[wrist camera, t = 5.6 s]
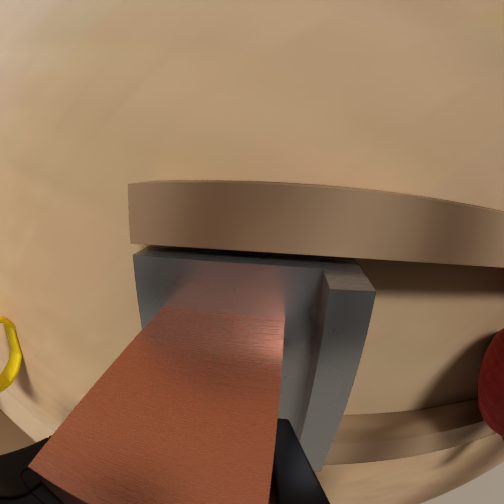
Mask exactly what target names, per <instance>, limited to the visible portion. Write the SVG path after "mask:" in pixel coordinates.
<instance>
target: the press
mask: <svg viewBox="0 0 504 504" xmlns="http://www.w3.org/2000/svg"><path fill="white" fill-rule="evenodd" d="M133 262H134V272H135V281H136V290H137V297H138V305H139V312H140V319H141V325H142V331H141V332H140V333H139V334H138V335H137V336H136V337H135V338H134V340H133V341H132V342H131V343H130V344H129V345H128V346H127V347H126V349H125V350H124V351H123V352H122V353H121V354H120V355H119V357H118V358H117V359H116V360H115V361H114V362H113V364H112V365H111V366H110V367H109V368H108V369H107V370H106V372H105V373H104V374H103V375H102V376H101V377H100V379H99V380H98V381H97V382H96V383H95V384H94V386H93V387H92V388H91V389H90V390H89V392H88V393H87V394H86V395H85V396H84V398H83V399H82V400H81V401H80V402H79V403H78V405H77V406H76V407H75V408H74V409H73V411H72V412H71V413H70V414H69V416H68V417H67V418H66V419H65V420H64V422H63V423H62V424H61V425H60V426H59V428H58V429H57V430H56V431H55V433H54V434H53V435H52V436H51V438H50V439H49V440H48V441H47V443H46V444H45V445H44V446H43V448H42V449H41V450H40V451H39V453H38V454H37V455H36V456H35V458H34V459H33V460H32V462H31V463H30V464H29V465H28V467H29V468H30V469H31V470H32V471H33V473H34V474H35V475H36V476H37V477H38V478H39V479H40V480H41V481H42V482H43V483H44V484H45V485H46V486H47V487H48V488H49V489H50V490H51V491H52V492H53V493H54V494H55V495H56V496H57V497H58V498H59V499H60V500H61V501H62V502H63V503H64V504H268V501H269V493H270V485H271V477H272V468H273V459H274V450H275V440H276V430H277V419H278V418H281V419H288V420H289V421H290V423H291V425H292V427H293V429H294V431H295V434H296V436H297V438H298V440H299V442H300V444H301V446H302V448H303V450H304V452H305V454H306V457H307V459H308V461H309V463H310V465H311V467H312V469H313V471H314V472H320V471H321V469H322V466H323V464H324V462H325V459H326V457H327V455H328V452H329V450H330V447H331V445H332V442H333V440H334V437H335V435H336V432H337V429H338V427H339V424H340V421H341V419H342V416H343V413H344V410H345V407H346V404H347V401H348V398H349V395H350V392H351V389H352V386H353V382H354V379H355V376H356V372H357V369H358V365H359V362H360V358H361V354H362V351H363V347H364V343H365V339H366V335H367V331H368V327H369V322H370V318H371V313H372V309H373V304H374V299H375V294H376V290H375V289H374V287H373V286H372V284H371V283H370V281H369V280H368V278H367V277H366V275H365V274H364V272H363V271H362V269H361V268H360V266H359V265H358V264H357V262H356V261H355V259H354V258H349V257H334V256H318V255H303V254H287V253H271V252H256V251H240V250H224V249H209V248H193V247H177V246H161V245H150V246H148V247H146V248H144V249H143V250H141V251H139V252H137V253H136V254H134V255H133Z"/></svg>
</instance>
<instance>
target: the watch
mask: <svg viewBox="0 0 504 504" xmlns="http://www.w3.org/2000/svg"><path fill="white" fill-rule="evenodd" d="M0 323H4V327H5V331H6V334H7V338H8V341H9V344H10V347H11V351H10V355H9V360H8V363H7V365H6V367H5V368H4V370H3V372H2V374H1V375H0V392H2V391H3V390H5V389H6V388H7V387H8V386H10V385H11V383H13V381H14V379H15V377H16V376H17V374H18V372H19V370H20V365H21V360H22V353H21V350H20V346H19V343H18V339H17V335H16V331H15V326H14V324H13V323H11V322H10V321H8V320H7V319H5V318H4V317H2V316H1V315H0Z"/></svg>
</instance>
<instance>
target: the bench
mask: <svg viewBox="0 0 504 504" xmlns="http://www.w3.org/2000/svg"><path fill="white" fill-rule="evenodd" d="M128 202H129V225H130V241H131V244H146V245H161V246H177V247H193V248H209V249H224V250H240V251H256V252H271V253H287V254H303V255H318V256H334V257H349V258H365V259H380V260H395V261H411V262H426V263H441V264H457V265H472V266H487V267H502V268H504V211H499V210H495V209H490V208H485V207H480V206H475V205H470V204H465V203H459V202H454V201H448V200H442V199H436V198H430V197H423V196H416V195H409V194H402V193H394V192H386V191H378V190H369V189H359V188H349V187H339V186H327V185H314V184H299V183H282V182H260V181H223V180H174V181H149V182H140V183H132V184H128ZM495 433H496V432H494V431H493V430H492V429H491V428H490V427H489V426H488V425H487V423H486V422H485V421H484V420H483V417H482V414H481V412H480V409H479V407H478V399H474V400H470V401H465V402H461V403H456V404H451V405H445V406H440V407H434V408H427V409H420V410H412V411H404V412H394V413H383V414H368V415H343V416H342V419H341V421H340V424H339V427H338V429H337V432H336V435H335V437H334V440H333V442H332V445H331V447H330V450H329V452H328V455H327V457H326V459H325V462H324V464H323V465H335V464H354V463H366V462H376V461H384V460H392V459H399V458H405V457H411V456H416V455H421V454H426V453H431V452H435V451H439V450H443V449H447V448H451V447H455V446H458V445H462V444H465V443H468V442H472V441H475V440H478V439H481V438H484V437H487V436H489V435H492V434H495ZM502 438H503V440H504V437H503V436H502Z"/></svg>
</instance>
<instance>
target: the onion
mask: <svg viewBox="0 0 504 504" xmlns="http://www.w3.org/2000/svg"><path fill="white" fill-rule="evenodd" d="M478 407H479V409H480V412H481V414H482V417H483V420H484V421H485V422H486V423H487V425H488V426H489V427H490V428H491V429H492V430H493V431H494V432H496V433H498V434H499V435H501V436H503V437H504V329H502V330H500V331H499V332H497V333H496V334H495V335H494V337H493V339H492V341H491V343H490V345H489V346H488V348H487V350H486V353H485V355H484V359H483V362H482V365H481V369H480V373H479V377H478Z"/></svg>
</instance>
